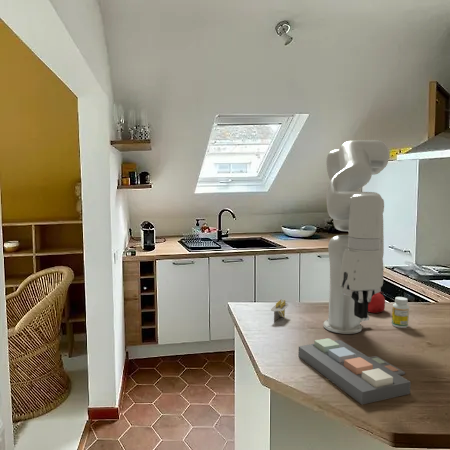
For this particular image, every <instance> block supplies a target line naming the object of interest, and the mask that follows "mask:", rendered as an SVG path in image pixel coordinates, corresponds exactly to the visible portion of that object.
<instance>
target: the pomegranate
mask: <svg viewBox="0 0 450 450" xmlns="http://www.w3.org/2000/svg"><path fill="white" fill-rule="evenodd" d="M383 294H384V292H383V291H380V292H378V293H376V294H374V295H373V296H372V298H371V301H370V302H368V313H370V314H372V313H373V314H378V313H382V312H384V310H385V307H386V298H385V296H384V295H383Z"/></svg>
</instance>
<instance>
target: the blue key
mask: <svg viewBox="0 0 450 450" xmlns="http://www.w3.org/2000/svg"><path fill="white" fill-rule="evenodd" d="M328 356H329V357H331V358H332V359H334V360H335V361H336V362H338V363H343V362H344V360H347V359H352V358H355V354H354V353H353V352H351V351H349V350H348V349H346V348H345V347H341V348H335V349H329V350H328Z"/></svg>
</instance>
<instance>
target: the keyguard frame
mask: <svg viewBox="0 0 450 450" xmlns="http://www.w3.org/2000/svg"><path fill="white" fill-rule="evenodd" d="M334 341H335V342H336V343H338V344H339V348H341V347H345V348H346V349H348V350H349V351H351V352H353V353H354V354H355V358H358V357H361V358H363V359H364V360H366V361H367V362H369V363H371V364H372V365H373V369H377V368H379V369H381V370H382V371H384V372H385V373H387V374H389V375H390V376H392V377H393V384H391V385H386V386H382V387H377V388H375V387H373V386H372V385H370V384H369V383H368V382H366V381H365V380H363V379H362V374H358V375H356V374H354V373H353V372H351V371H350V370H348V369H347V368H345V367H344V362H343V363H338V362H336V361H335V360H334V359H332V358H331V357H329V356H328V352H326V353H323V352H322V351H320V350H319V349H317V348H316V347H314V343H311V344H310V343H309V344H303V345H298V354H297V355H298V357H299V358H300V359H301V360H302V361H304V362H305V363H306V364H308V365H309V366H310V367H312V368H313V369H315V371H318V373H320V374H321V375H322V376H324V377H325V378H326V379H328V380H329V381H330V382H332V383H333V384H334V385H336V386H337V387H338V388H339V389H341V390H342V392H344V393H346V394H347V395H349V396H350V397H351V398H352V399H354V400H355V401H356V402H358V403H360V404H361V405H366V404H370V403H371V404H372V403H374V402H375V403H376V402H380V401H383V400H387V399H393V398H397V397H401V396H406V395H410V394H411V381H410V380H409V379H407V378H405V377H403V375H398V374H397V373H395V372H393V371H392V370H390V369H388V368H387V367H385V366H383V365H381V364H380V363H378V362H376V361H375V360H373V359H371V358H370V357H371V356H368V355H366V354H364V353H363V352H361V351H359V350H358V349H356V348H354V347H353V346H351V345H350V344H348V343H346V342H344V341H343V340H340V339H335V340H334Z"/></svg>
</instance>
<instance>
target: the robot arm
mask: <svg viewBox="0 0 450 450" xmlns="http://www.w3.org/2000/svg"><path fill="white" fill-rule="evenodd" d="M389 160H390V152H389V147H388V145H387V144H386V143H385V142H384V141H383V140H380V139H379V140H378V139H364V140H363V139H356V140H355V139H354V140H353V139H352V140H348V141H345V142H344V143H342V145H341V146H340V148H338V149H337V148H336V149H333V150H331V151H330V152H329V153H327V156H326V172H327V176H328V178H329V182H328V184H327V188H326V193H325V194H326V195H325V196H326V210H327V214H328V216H329V217H330V218H331V219H332V221H333V226H334V229H336V230H338V231H341V232H348V234H339V235H335V236H333V237H331V238H330V239H329V241H328V246H327V248H328V249H327V250H328V258H329V260H328V261H329V290H328V292H329V293H328V318H327V319H326V320H324V321H323V328H325V329H326V330H327V331H329V332H332V333H337V334H343V335H352V334H357V333H360V332H362V331H363V325H362V324H361V323H362V322H367V321H369V320H370V316H369V312H368V302H370V301H371V298H372V296H373V295H374V294H376V293H378V292H379V293H381V292H382V291H381V290H382V289H381V288H382V287H383V284H384V254H385V253H384V249H385V248H384V247H385V245H384V243H385V242H384V212H385V200H384V198H383V197H382V196H381V194H380V193H378V192H375V191H360V188H363V187H364V186H366V185H367V184H368V183H369V182H370V181H371V179H372V175H373V176H375V175H379V174H380V173H381V172H382V171H383V170H384V169H385V168H386V167H387V166H388V163H389Z"/></svg>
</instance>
